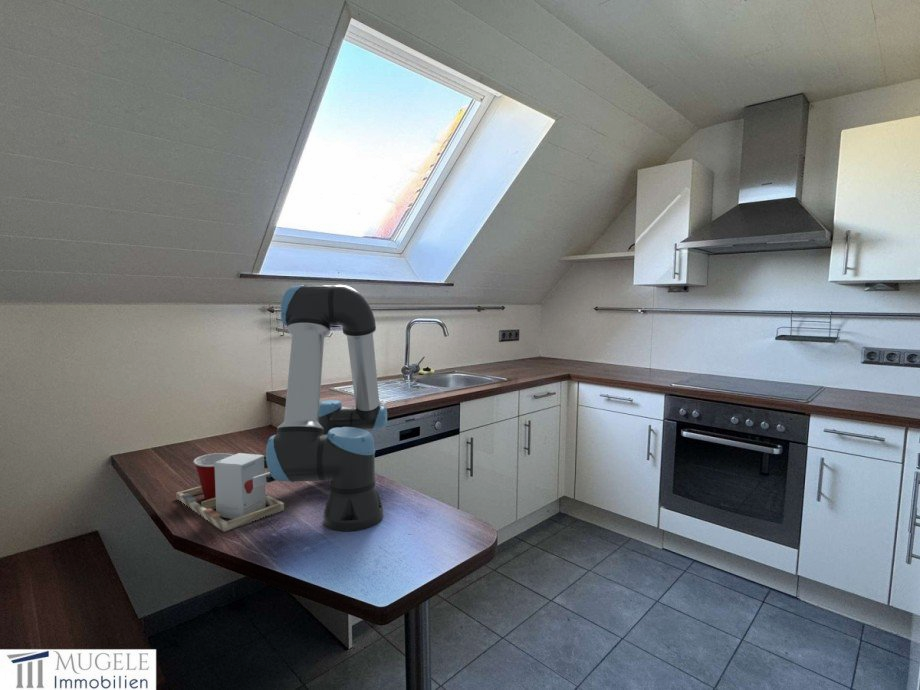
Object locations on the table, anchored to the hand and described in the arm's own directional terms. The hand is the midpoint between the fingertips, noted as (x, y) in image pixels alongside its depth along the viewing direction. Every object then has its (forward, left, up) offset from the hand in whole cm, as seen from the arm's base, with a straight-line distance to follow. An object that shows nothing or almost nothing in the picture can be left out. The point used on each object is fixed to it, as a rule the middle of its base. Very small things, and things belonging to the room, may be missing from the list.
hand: (239, 477), depth 125 cm
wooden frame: (+8, 0, -9) cm, 12 cm away
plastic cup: (+16, 0, -10) cm, 19 cm away
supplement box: (0, 0, -10) cm, 10 cm away
